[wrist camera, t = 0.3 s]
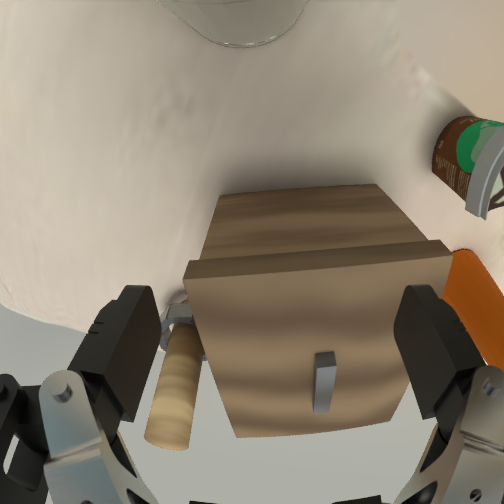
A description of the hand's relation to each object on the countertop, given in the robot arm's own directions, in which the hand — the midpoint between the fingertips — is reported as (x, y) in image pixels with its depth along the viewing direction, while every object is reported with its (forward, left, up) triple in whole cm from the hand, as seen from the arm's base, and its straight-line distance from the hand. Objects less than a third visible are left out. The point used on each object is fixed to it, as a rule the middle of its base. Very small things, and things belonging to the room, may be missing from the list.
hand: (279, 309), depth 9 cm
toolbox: (+12, +3, -18) cm, 22 cm away
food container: (-2, +20, -18) cm, 27 cm away
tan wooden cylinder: (+16, -9, -18) cm, 26 cm away
